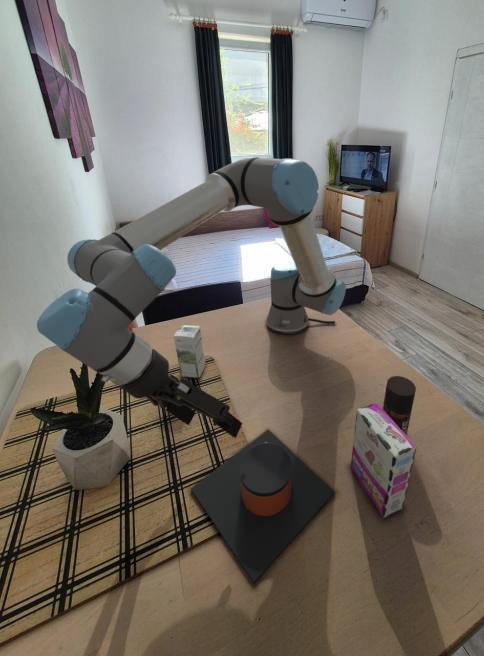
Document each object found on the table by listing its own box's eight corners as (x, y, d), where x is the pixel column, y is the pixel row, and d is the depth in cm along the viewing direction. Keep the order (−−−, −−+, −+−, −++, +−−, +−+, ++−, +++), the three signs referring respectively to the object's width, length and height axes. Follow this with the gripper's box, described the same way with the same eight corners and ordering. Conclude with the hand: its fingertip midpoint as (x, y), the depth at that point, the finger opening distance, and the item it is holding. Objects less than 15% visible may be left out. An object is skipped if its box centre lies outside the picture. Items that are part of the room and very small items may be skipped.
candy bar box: (404, 508, 61) (418, 447, 54) (383, 520, 59) (394, 458, 53) (368, 457, 70) (376, 400, 64) (349, 466, 69) (355, 408, 62)
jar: (247, 524, 58) (236, 473, 67) (299, 505, 61) (282, 458, 70) (245, 501, 55) (234, 451, 64) (300, 482, 58) (282, 436, 67)
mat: (268, 430, 77) (268, 429, 76) (334, 493, 63) (334, 491, 63) (191, 490, 64) (190, 488, 64) (254, 584, 51) (253, 582, 50)
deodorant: (387, 420, 79) (395, 372, 73) (410, 435, 75) (420, 385, 69) (374, 435, 76) (381, 385, 70) (397, 451, 72) (407, 400, 66)
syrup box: (206, 365, 98) (201, 324, 92) (199, 379, 93) (193, 336, 87) (187, 364, 98) (181, 323, 93) (179, 377, 93) (172, 335, 87)
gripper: (84, 380, 58) (165, 431, 69) (167, 397, 43) (252, 458, 55) (113, 344, 62) (184, 398, 74) (196, 349, 48) (269, 415, 60)
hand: (213, 424), depth 64 cm, fingers open, 13 cm apart
